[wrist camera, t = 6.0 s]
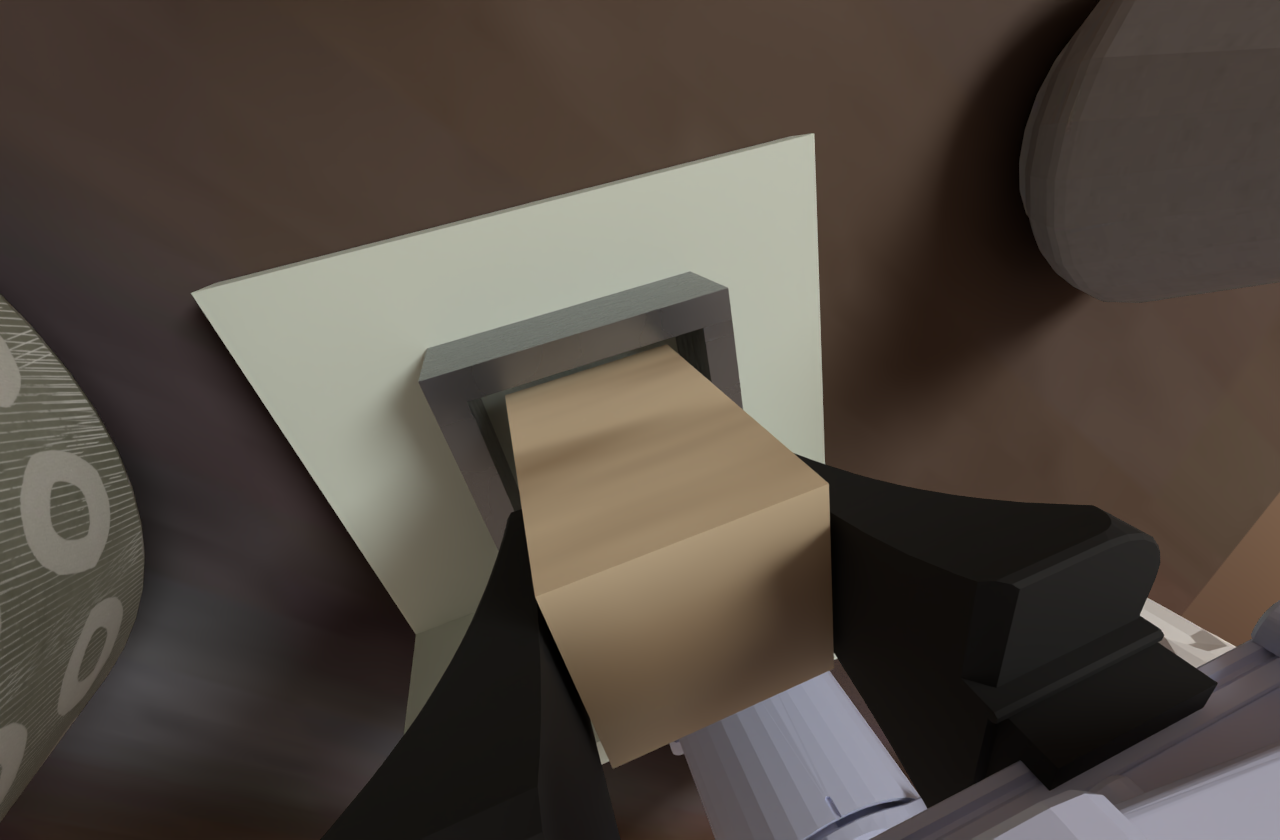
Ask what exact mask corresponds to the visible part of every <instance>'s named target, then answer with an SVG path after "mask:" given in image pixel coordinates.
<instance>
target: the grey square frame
mask: <svg viewBox="0 0 1280 840" xmlns="http://www.w3.org/2000/svg"><path fill="white" fill-rule="evenodd" d="M672 337H675V338H676V344H677V349H678V354H679V355H680V356H681V357H682V358H684V359H685V360H686V361H687V362H688V363H689V364H690V365H692V366H693V367H694V368H695V369H696V370H697V371H699V372H700V373H701V374H702V375H703V376H704V377H706V378H707V379H708V380H709V381H710V382H711V383H713V384H714V385H715V386H716V387H717V388H718V389H720V390H721V391H722V392H723V393H724V394H725V395H727V396H728V397H729V398H730V399H731V400H732V401H733V402H735V403H736V404H737V405H738V406H739V407H740V408H742V409H743V404H742V396H741V388H740V379H739V371H738V363H737V355H736V347H735V339H734V330H733V322H732V314H731V306H730V298H729V290H728V288H727V287H725V286H723V285H721V284H718V283H716V282H714V281H711V280H709V279H707V278H704V277H702V276H700V275H698V274H695V273H693V272H691V271H689V272H686V273H683V274H679V275H676V276H672V277H669V278H666V279H662V280H659V281H655V282H652V283H649V284H645V285H642V286H638V287H635V288H631V289H628V290H625V291H621V292H618V293H614V294H611V295H608V296H604V297H601V298H597V299H594V300H591V301H587V302H584V303H580V304H577V305H574V306H570V307H567V308H563V309H560V310H556V311H553V312H550V313H546V314H543V315H539V316H536V317H533V318H529V319H526V320H522V321H519V322H516V323H512V324H509V325H505V326H502V327H498V328H495V329H492V330H488V331H485V332H481V333H478V334H475V335H471V336H468V337H464V338H461V339H458V340H454V341H451V342H447V343H444V344H440V345H437V346H434V347H430V348H427V350H426V354H425V358H424V361H423V365H422V369H421V373H420V377H419V380H418V383H419V385H420V387H421V389H422V391H423V393H424V395H425V397H426V399H427V402H428V404H429V406H430V408H431V410H432V412H433V414H434V416H435V418H436V421H437V423H438V425H439V427H440V429H441V431H442V433H443V435H444V437H445V440H446V442H447V444H448V446H449V448H450V450H451V452H452V454H453V456H454V458H455V461H456V463H457V465H458V467H459V469H460V471H461V473H462V475H463V477H464V480H465V482H466V484H467V486H468V488H469V490H470V492H471V494H472V496H473V499H474V501H475V503H476V505H477V507H478V509H479V511H480V513H481V515H482V518H483V520H484V522H485V524H486V526H487V528H488V530H489V532H490V534H491V536H492V539H493V541H494V543H495V545H496V547H497V549H498V551H499V549H500V545H501V542H502V539H503V535H504V531H505V528H506V524H507V519H508V517H509V515H510V513H511V512H514V511H517V510H520V509H522V506H521V500H520V493H519V489H518V486H517V484H516V482H515V479H514V477H513V474H512V472H511V469H510V467H509V465H508V462H507V460H506V457H505V455H504V453H503V450H502V448H501V445H500V443H499V440H498V438H497V436H496V433H495V431H494V428H493V426H492V423H491V421H490V419H489V416H488V414H487V411H486V409H485V407H484V404H483V402H482V399H481V397H484V396H488V395H491V394H494V393H497V392H500V391H503V390H507V389H510V388H513V387H516V386H519V385H523V384H526V383H529V382H532V381H535V380H538V379H542V378H545V377H548V376H551V375H554V374H558V373H561V372H564V371H567V370H570V369H573V368H577V367H580V366H583V365H586V364H589V363H593V362H596V361H599V360H602V359H605V358H608V357H612V356H615V355H618V354H621V353H624V352H628V351H631V350H634V349H637V348H640V347H643V346H647V345H650V344H653V343H656V342H659V341H663V340H666V339H669V338H672Z"/></svg>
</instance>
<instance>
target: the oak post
mask: <svg viewBox="0 0 1280 840" xmlns="http://www.w3.org/2000/svg"><path fill="white" fill-rule="evenodd" d="M505 399H506V406H507V413H508V419H509V426H510V433H511V440H512V446H513V453H514V460H515V466H516V473H517V480H518V486H519V493H520V500H521V506H522V513H523V520H524V527H525V533H526V540H527V547H528V553H529V560H530V567H531V573H532V580H533V587H534V593H535V598H536V600H537V602H538V605H539V607H540V609H541V611H542V614H543V616H544V618H545V620H546V622H547V625H548V627H549V629H550V631H551V633H552V636H553V638H554V640H555V642H556V644H557V647H558V649H559V651H560V653H561V655H562V658H563V660H564V662H565V664H566V667H567V669H568V671H569V673H570V675H571V678H572V680H573V682H574V684H575V686H576V689H577V691H578V693H579V695H580V697H581V700H582V702H583V704H584V706H585V708H586V711H587V713H588V715H589V717H590V719H591V722H592V724H593V726H594V728H595V731H596V733H597V735H598V737H599V739H600V742H601V744H602V746H603V748H604V750H605V753H606V755H607V757H608V759H609V761H610V764H611V766H612V768H613V769H614V768H616V767H618V766H621V765H623V764H625V763H627V762H629V761H632V760H634V759H636V758H638V757H640V756H643V755H645V754H647V753H649V752H651V751H654V750H656V749H658V748H660V747H662V746H665V745H667V744H669V743H671V742H673V741H676V740H678V739H680V738H682V737H684V736H687V735H689V734H691V733H693V732H695V731H698V730H700V729H702V728H704V727H706V726H709V725H711V724H713V723H715V722H717V721H720V720H722V719H724V718H726V717H728V716H731V715H733V714H735V713H737V712H739V711H742V710H744V709H746V708H748V707H750V706H753V705H755V704H757V703H759V702H761V701H764V700H766V699H768V698H770V697H772V696H775V695H777V694H779V693H781V692H783V691H786V690H788V689H790V688H792V687H794V686H797V685H799V684H801V683H803V682H805V681H808V680H810V679H812V678H814V677H816V676H819V675H821V674H823V673H825V672H827V671H830V670H832V669H834V648H833V612H832V575H831V539H830V503H829V483H828V482H826V481H825V480H824V479H823V478H822V477H821V476H819V475H818V474H817V473H816V472H815V471H814V470H812V469H811V468H810V467H809V466H808V465H807V464H806V463H804V462H803V461H802V460H801V459H800V458H799V457H797V456H796V455H795V454H794V453H793V452H792V451H790V450H789V449H788V448H787V447H786V446H785V445H783V444H782V443H781V442H780V441H779V440H778V439H776V438H775V437H774V436H773V435H772V434H771V433H769V432H768V431H767V430H766V429H765V428H764V427H763V426H761V425H760V424H759V423H758V422H757V421H756V420H754V419H753V418H752V417H751V416H750V415H749V414H747V413H746V412H745V411H744V410H743V409H742V408H740V407H739V406H738V405H737V404H736V403H735V402H733V401H732V400H731V399H730V398H729V397H728V396H727V395H725V394H724V393H723V392H722V391H721V390H720V389H718V388H717V387H716V386H715V385H714V384H713V383H711V382H710V381H709V380H708V379H707V378H706V377H704V376H703V375H702V374H701V373H700V372H699V371H697V370H696V369H695V368H694V367H693V366H692V365H690V364H689V363H688V362H687V361H686V360H685V359H684V358H682V357H681V356H680V355H679V354H678V353H677V352H675V351H674V350H673V349H672V348H671V347H670V346H668V345H667V344H666V345H663V346H659V347H656V348H653V349H650V350H647V351H644V352H640V353H637V354H634V355H631V356H628V357H625V358H621V359H618V360H615V361H612V362H609V363H606V364H602V365H599V366H596V367H593V368H590V369H587V370H583V371H580V372H577V373H574V374H571V375H568V376H564V377H561V378H558V379H555V380H552V381H549V382H545V383H542V384H539V385H536V386H533V387H530V388H526V389H523V390H520V391H517V392H514V393H511V394H507V395H505Z"/></svg>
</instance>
